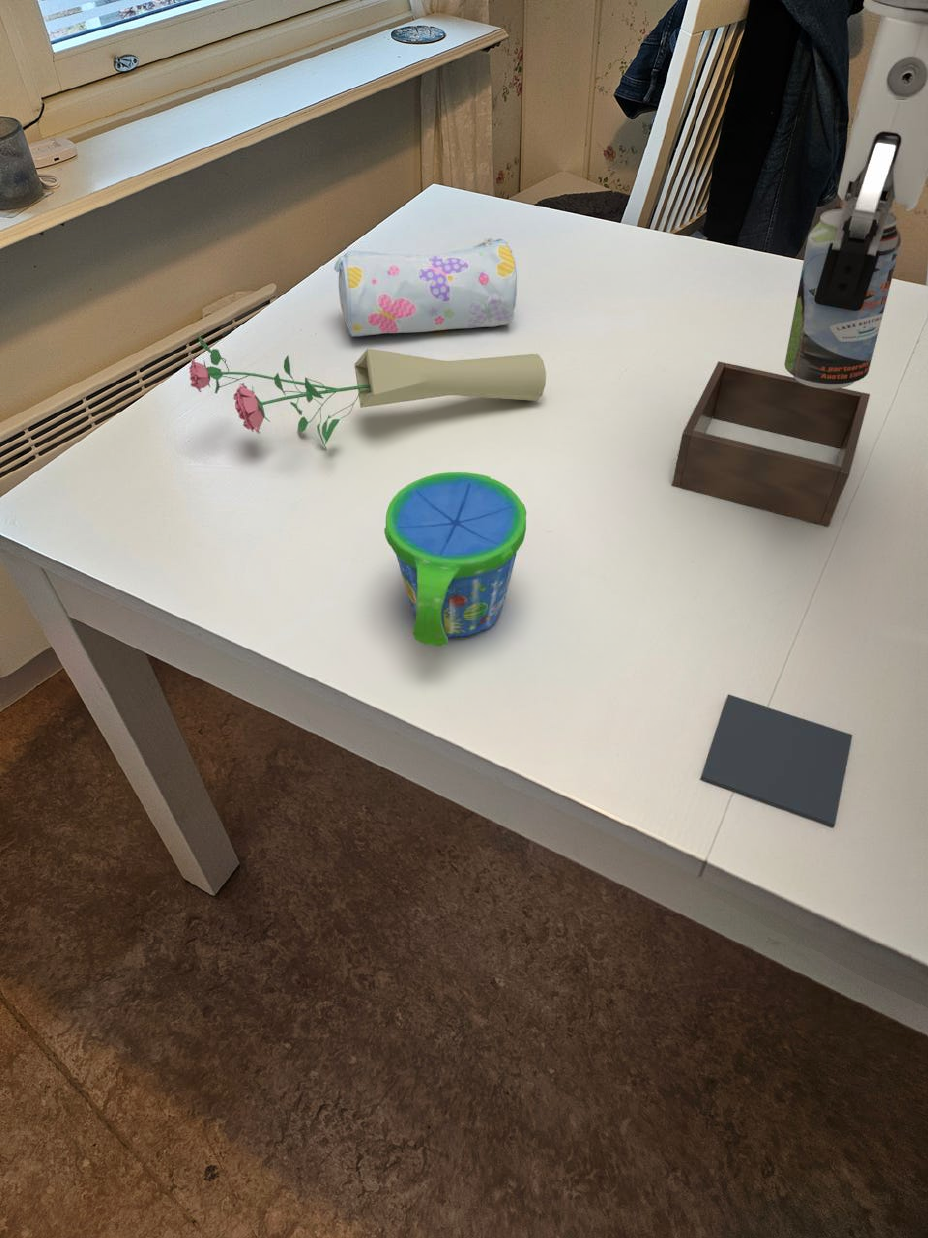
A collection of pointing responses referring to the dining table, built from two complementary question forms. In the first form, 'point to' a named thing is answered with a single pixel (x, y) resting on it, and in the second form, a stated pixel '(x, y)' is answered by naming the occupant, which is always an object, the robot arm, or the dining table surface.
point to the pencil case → (428, 289)
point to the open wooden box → (764, 471)
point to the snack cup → (455, 550)
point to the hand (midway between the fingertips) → (845, 283)
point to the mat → (779, 759)
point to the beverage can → (838, 313)
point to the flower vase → (392, 382)
